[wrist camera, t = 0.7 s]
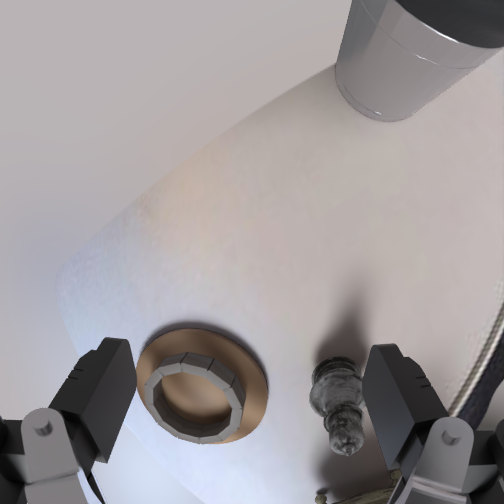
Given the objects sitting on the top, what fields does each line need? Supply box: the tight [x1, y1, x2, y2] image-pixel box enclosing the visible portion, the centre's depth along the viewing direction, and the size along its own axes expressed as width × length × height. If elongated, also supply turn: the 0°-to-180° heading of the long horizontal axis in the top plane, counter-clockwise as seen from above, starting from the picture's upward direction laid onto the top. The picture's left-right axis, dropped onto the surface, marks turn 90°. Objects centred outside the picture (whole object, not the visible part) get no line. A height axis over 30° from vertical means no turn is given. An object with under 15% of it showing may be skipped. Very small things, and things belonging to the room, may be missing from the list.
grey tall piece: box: [310, 357, 366, 457], centre depth 25 cm, size 6×6×12 cm
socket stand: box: [136, 328, 268, 444], centre depth 32 cm, size 15×15×4 cm
